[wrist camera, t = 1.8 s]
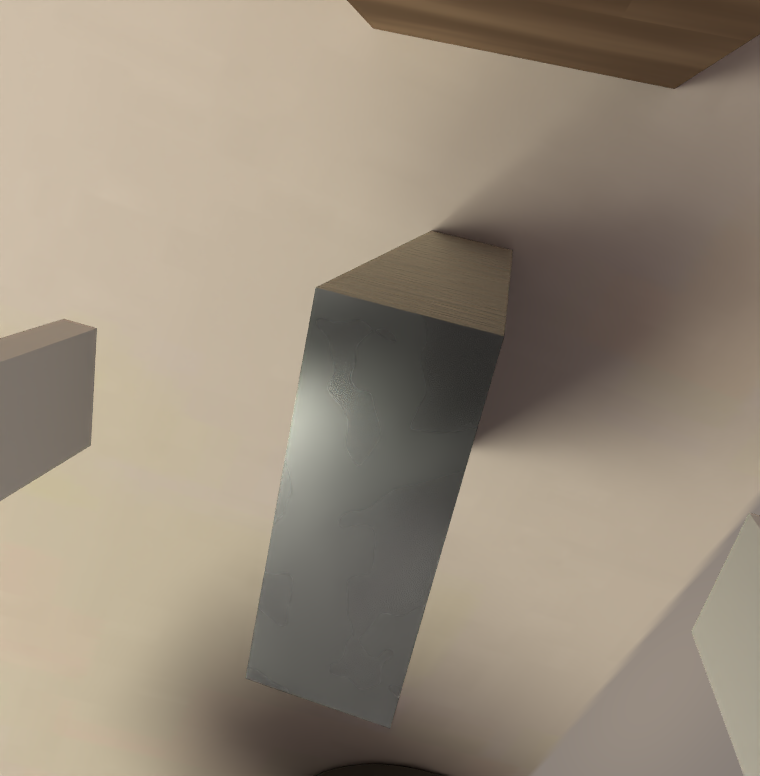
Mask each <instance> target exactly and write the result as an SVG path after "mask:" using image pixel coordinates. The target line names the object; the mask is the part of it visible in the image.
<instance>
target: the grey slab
mask: <svg viewBox="0 0 760 776" xmlns="http://www.w3.org/2000/svg"><path fill="white" fill-rule="evenodd" d="M512 253H513V250H510V249H506V248H502V247H498V246H493V245H489V244H485V243H481V242H477V241H473V240H468V239H464V238H460V237H456V236H452V235H448V234H443V233H439V232H435V231H430V232H428V233H426V234H424V235H422V236H420V237H418V238H416V239H413V240H411V241H409V242H407V243H405V244H403V245H401V246H399V247H397V248H395V249H393V250H391V251H389V252H387V253H385V254H383V255H381V256H379V257H377V258H375V259H373V260H371V261H369V262H367V263H365V264H363V265H361V266H358V267H356V268H354V269H352V270H350V271H348V272H346V273H344V274H342V275H340V276H338V277H336V278H334V279H332V280H330V281H328V282H326V283H324V284H322V285H320V286H318V287H316V289H315V294H314V300H313V305H312V311H311V316H310V322H309V328H308V333H307V339H306V344H305V350H304V355H303V361H302V366H301V372H300V378H299V383H298V389H297V394H296V400H295V405H294V411H293V417H292V422H291V428H290V433H289V439H288V444H287V450H286V456H285V461H284V467H283V472H282V478H281V483H280V489H279V495H278V500H277V506H276V511H275V517H274V522H273V528H272V533H271V539H270V545H269V550H268V556H267V561H266V567H265V572H264V578H263V584H262V589H261V595H260V600H259V606H258V611H257V617H256V623H255V628H254V634H253V639H252V645H251V650H250V656H249V662H248V667H247V673H246V679H249V680H252V681H254V682H257V683H260V684H263V685H266V686H269V687H272V688H275V689H277V690H280V691H283V692H286V693H289V694H292V695H295V696H298V697H301V698H303V699H306V700H309V701H312V702H315V703H318V704H321V705H324V706H327V707H329V708H332V709H335V710H338V711H341V712H344V713H347V714H350V715H352V716H355V717H358V718H361V719H364V720H367V721H370V722H373V723H376V724H378V725H381V726H384V727H387V728H390V727H391V723H392V720H393V717H394V713H395V710H396V706H397V703H398V699H399V696H400V692H401V689H402V686H403V682H404V679H405V675H406V672H407V668H408V665H409V662H410V658H411V655H412V651H413V648H414V644H415V641H416V637H417V634H418V631H419V627H420V624H421V620H422V617H423V613H424V610H425V606H426V603H427V600H428V596H429V593H430V589H431V586H432V582H433V579H434V576H435V572H436V569H437V565H438V562H439V558H440V555H441V551H442V548H443V545H444V541H445V538H446V534H447V531H448V527H449V524H450V520H451V517H452V514H453V510H454V507H455V503H456V500H457V496H458V493H459V490H460V486H461V483H462V479H463V476H464V472H465V469H466V465H467V462H468V459H469V455H470V452H471V448H472V445H473V441H474V438H475V434H476V431H477V428H478V424H479V421H480V417H481V414H482V410H483V407H484V404H485V400H486V397H487V393H488V390H489V386H490V383H491V379H492V376H493V373H494V369H495V366H496V362H497V359H498V355H499V352H500V349H501V345H502V342H503V338H504V332H505V322H506V312H507V303H508V293H509V283H510V273H511V263H512Z"/></svg>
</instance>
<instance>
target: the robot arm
mask: <svg viewBox="0 0 760 776" xmlns="http://www.w3.org/2000/svg"><path fill="white" fill-rule="evenodd" d="M96 334H97V328H94V327H91V326H87V325H84V324H80V323H77V322H73V321H69V320H66V319H62V320H59V321H56V322H52V323H49V324H46V325H43V326H39V327H36V328H33V329H29V330H26V331H23V332H20V333H16V334H13V335H10V336H6V337H3V338H0V501H1V500H3V499H4V498H6V497H7V496H9V495H11V494H12V493H14V492H16V491H17V490H19V489H20V488H22V487H24V486H25V485H27V484H29V483H30V482H32V481H34V480H35V479H37V478H38V477H40V476H42V475H43V474H45V473H47V472H48V471H50V470H51V469H53V468H55V467H56V466H58V465H60V464H61V463H63V462H64V461H66V460H68V459H69V458H71V457H73V456H74V455H76V454H77V453H79V452H81V451H82V450H84V449H86V448H87V447H89V446H90V445H91V431H92V412H93V392H94V373H95V354H96ZM691 632H692V635H693V638H694V640H695V643H696V646H697V649H698V651H699V654H700V657H701V660H702V662H703V665H704V668H705V670H706V673H707V676H708V679H709V681H710V684H711V687H712V690H713V692H714V695H715V697H716V701H717V703H718V706H719V709H720V712H721V714H722V717H723V719H724V722H725V725H726V728H727V731H728V733H729V736H730V739H731V742H732V744H733V747H734V750H735V753H736V755H737V758H738V761H739V763H740V766H741V769H742V772H743V774H744V776H760V515H756V514H753V513H749V514H748V516H747V518H746V520H745V522H744V524H743V526H742V528H741V531H740V533H739V534H738V536H737V539H736V541H735V543H734V545H733V547H732V549H731V551H730V553H729V555H728V557H727V559H726V561H725V563H724V565H723V567H722V569H721V572H720V574H719V576H718V578H717V580H716V582H715V584H714V586H713V588H712V590H711V592H710V594H709V596H708V599H707V600H706V602H705V604H704V607H703V609H702V611H701V613H700V615H699V617H698V619H697V621H696V623H695V625H694V627H693V629H692V631H691ZM316 776H439V775H436V774H433V773H429V772H425V771H422V770H418V769H413V768H408V767H402V766H395V765H381V764H367V765H354V766H347V767H341V768H337V769H333V770H330V771H327V772H324V773H321V774H319V775H316Z"/></svg>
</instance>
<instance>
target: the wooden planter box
mask: <svg viewBox="0 0 760 776" xmlns="http://www.w3.org/2000/svg"><path fill="white" fill-rule="evenodd" d="M347 1H348V2H349V3H350V4H351V5H352V6H353V7H354V8H355V9H356V10H357V11H358V13H359V14H360V15H361V16H362V17H363V18H364V19H365V20H366V21H367V22H368V23H369V24H370V25H371V27H372V28H374V29H379V30H384V31H389V32H394V33H399V34H404V35H409V36H414V37H419V38H424V39H429V40H434V41H439V42H444V43H449V44H454V45H459V46H464V47H469V48H474V49H479V50H484V51H489V52H494V53H499V54H504V55H508V56H513V57H518V58H523V59H528V60H533V61H538V62H543V63H548V64H553V65H558V66H563V67H568V68H573V69H578V70H583V71H588V72H593V73H598V74H603V75H608V76H613V77H618V78H623V79H628V80H633V81H638V82H643V83H648V84H653V85H658V86H663V87H668V88H673V89H675V88H676V87H678V86H679V85H681V84H682V83H684V82H686V81H687V80H689V79H690V78H692V77H693V76H695V75H697V74H698V73H700V72H701V71H703V70H704V69H706V68H708V67H709V66H711V65H712V64H714V63H715V62H717V61H719V60H720V59H722V58H723V57H725V56H726V55H728V54H730V53H731V52H733V51H734V50H736V49H737V48H739V47H741V46H742V45H744V44H745V43H747V42H748V41H750V40H752V39H753V38H755V37H756V36H758V35H759V34H760V0H347Z"/></svg>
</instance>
